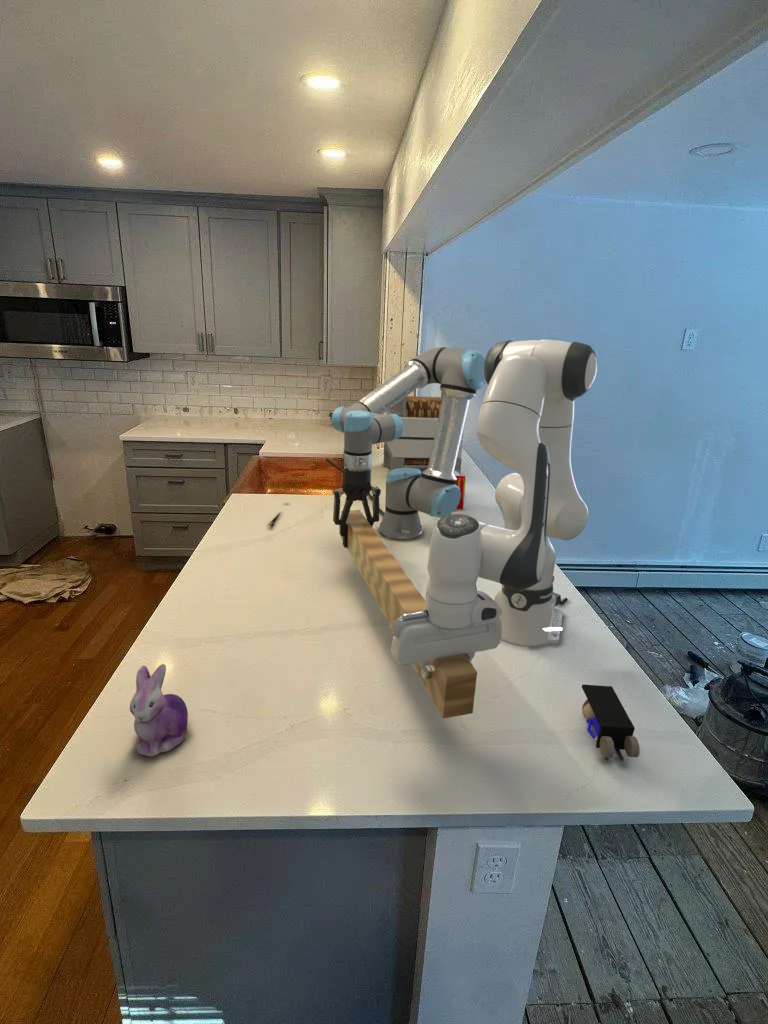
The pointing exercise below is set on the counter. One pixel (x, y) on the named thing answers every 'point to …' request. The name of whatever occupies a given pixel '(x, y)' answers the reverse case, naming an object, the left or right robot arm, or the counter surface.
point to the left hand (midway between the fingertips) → (355, 545)
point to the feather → (273, 520)
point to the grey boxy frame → (415, 433)
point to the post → (400, 596)
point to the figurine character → (609, 722)
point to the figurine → (157, 714)
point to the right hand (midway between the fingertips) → (444, 673)
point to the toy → (461, 485)
